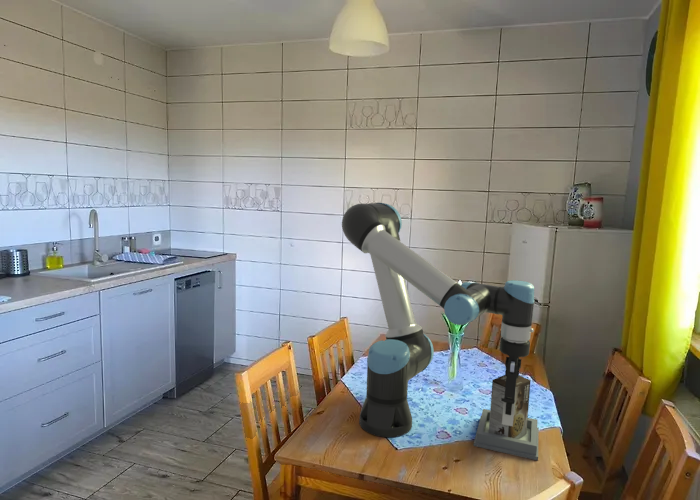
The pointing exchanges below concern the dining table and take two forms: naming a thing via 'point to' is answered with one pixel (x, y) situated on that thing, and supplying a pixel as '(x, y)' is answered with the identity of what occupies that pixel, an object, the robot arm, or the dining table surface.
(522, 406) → the coffee box
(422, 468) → the dining table surface
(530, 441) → the tray
